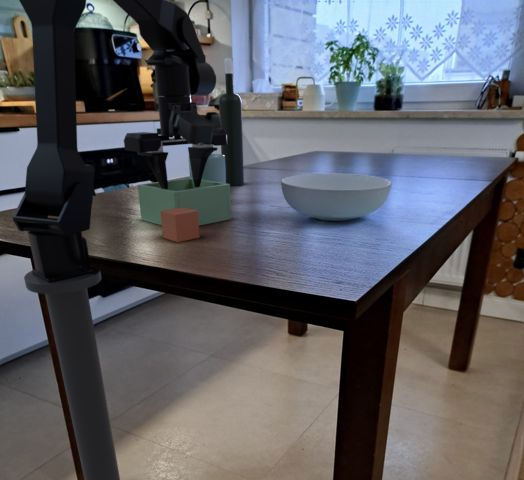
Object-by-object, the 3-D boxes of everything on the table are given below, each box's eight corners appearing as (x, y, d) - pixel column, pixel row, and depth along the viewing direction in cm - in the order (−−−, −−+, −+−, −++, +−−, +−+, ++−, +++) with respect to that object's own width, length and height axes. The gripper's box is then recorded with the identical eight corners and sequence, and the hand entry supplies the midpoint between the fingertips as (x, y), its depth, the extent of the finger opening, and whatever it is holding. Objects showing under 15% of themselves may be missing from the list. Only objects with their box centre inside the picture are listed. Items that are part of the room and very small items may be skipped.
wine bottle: (240, 186, 138) (236, 57, 124) (220, 185, 139) (213, 57, 126) (246, 182, 143) (242, 58, 129) (226, 182, 144) (220, 59, 131)
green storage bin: (177, 230, 93) (174, 192, 90) (141, 219, 101) (137, 184, 99) (231, 219, 101) (230, 184, 98) (193, 210, 109) (191, 177, 106)
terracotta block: (177, 242, 85) (175, 214, 83) (162, 237, 88) (160, 210, 86) (199, 237, 88) (197, 210, 86) (184, 233, 91) (182, 207, 89)
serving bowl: (346, 234, 88) (349, 192, 85) (259, 217, 101) (258, 181, 98) (408, 215, 102) (412, 178, 99) (324, 202, 115) (325, 170, 112)
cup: (213, 198, 122) (211, 153, 117) (233, 202, 116) (231, 155, 112) (185, 202, 117) (181, 155, 113) (204, 207, 112) (201, 158, 107)
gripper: (152, 96, 79) (162, 201, 85) (245, 95, 90) (247, 188, 97) (116, 97, 86) (128, 193, 93) (206, 96, 97) (211, 182, 104)
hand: (181, 189), depth 96 cm, fingers open, 7 cm apart
